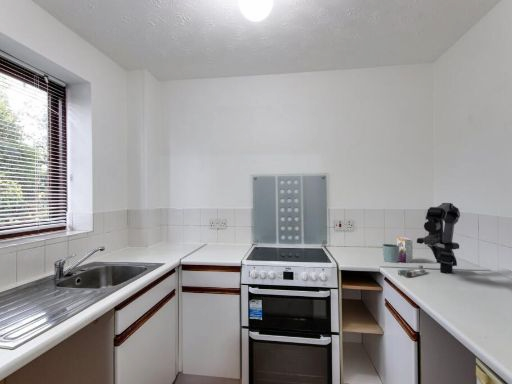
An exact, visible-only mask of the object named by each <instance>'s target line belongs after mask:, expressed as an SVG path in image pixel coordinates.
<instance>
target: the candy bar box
mask: <svg viewBox="0 0 512 384" xmlns="http://www.w3.org/2000/svg"><path fill="white" fill-rule="evenodd" d="M396 245H398V246H399V258H398V262H401V263H405V264H413V239H410V238H408V237H405V236H396Z"/></svg>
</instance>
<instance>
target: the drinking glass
mask: <svg viewBox="0 0 512 384" xmlns="http://www.w3.org/2000/svg"><path fill="white" fill-rule="evenodd" d="M382 254H383V263H395V264H396V263H399V260H398V258H399V246H398V245H397V244H393V243H384V244H382Z"/></svg>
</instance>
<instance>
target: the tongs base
mask: <svg viewBox="0 0 512 384" xmlns="http://www.w3.org/2000/svg"><path fill="white" fill-rule="evenodd" d="M418 269H419V270H414V271H407V272H404V275H403V276H404V278H412V277H417V276H421V275H425V274H426V268H424V266H423V265H418Z"/></svg>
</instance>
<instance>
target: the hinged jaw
mask: <svg viewBox="0 0 512 384" xmlns="http://www.w3.org/2000/svg"><path fill="white" fill-rule="evenodd" d="M414 270H419V267H417V268H408V269H404V268H403V269H397V275H398V276H404V272H407V271H414Z"/></svg>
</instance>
